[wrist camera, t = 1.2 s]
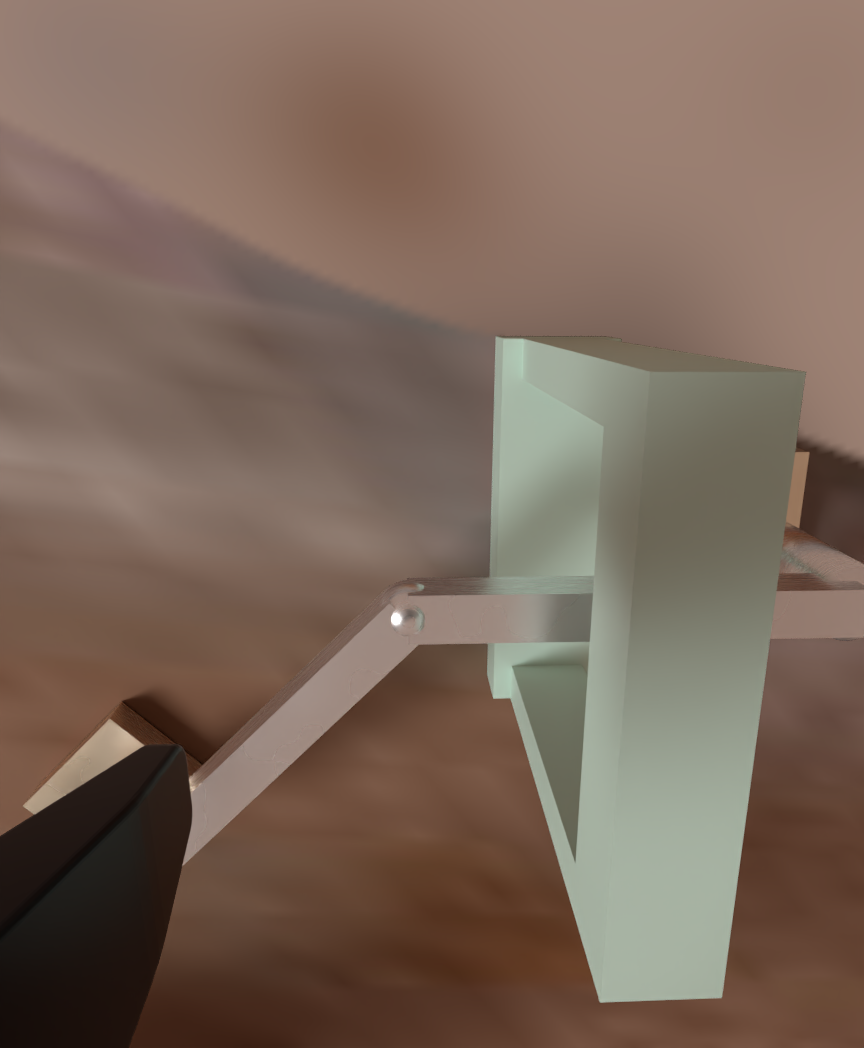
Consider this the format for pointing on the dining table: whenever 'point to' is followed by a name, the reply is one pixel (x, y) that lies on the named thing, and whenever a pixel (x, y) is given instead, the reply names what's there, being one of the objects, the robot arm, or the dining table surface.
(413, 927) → the dining table surface
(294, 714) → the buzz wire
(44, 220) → the dining table surface
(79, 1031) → the robot arm
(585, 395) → the mint green frame
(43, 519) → the dining table surface
